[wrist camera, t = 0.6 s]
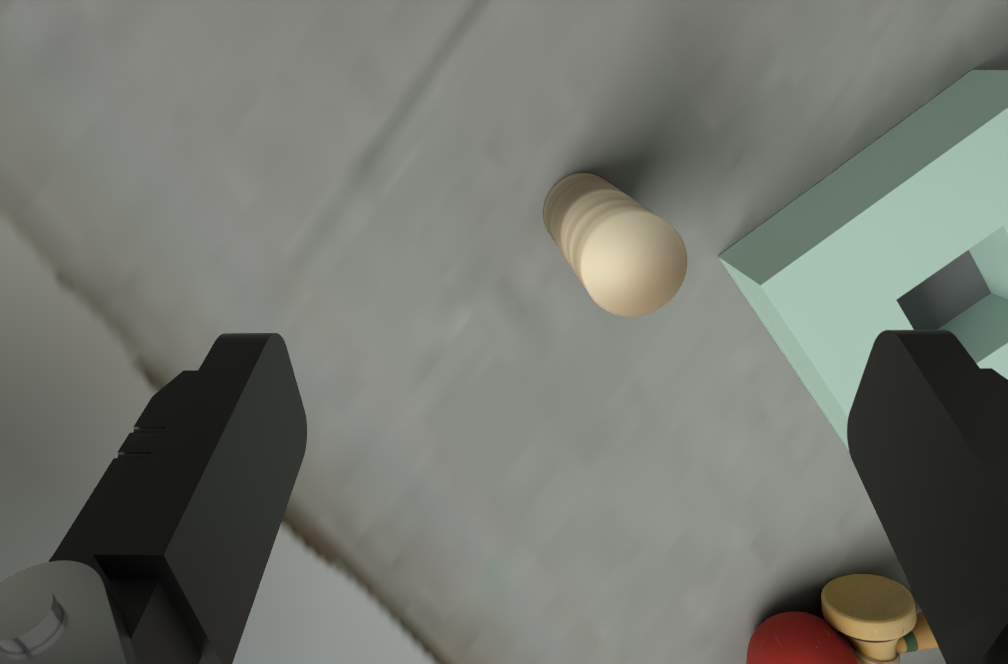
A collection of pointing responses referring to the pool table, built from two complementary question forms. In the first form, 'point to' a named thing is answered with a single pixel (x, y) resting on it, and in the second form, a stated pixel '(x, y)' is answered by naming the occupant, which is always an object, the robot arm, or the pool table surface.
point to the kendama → (846, 627)
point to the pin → (615, 245)
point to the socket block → (891, 246)
